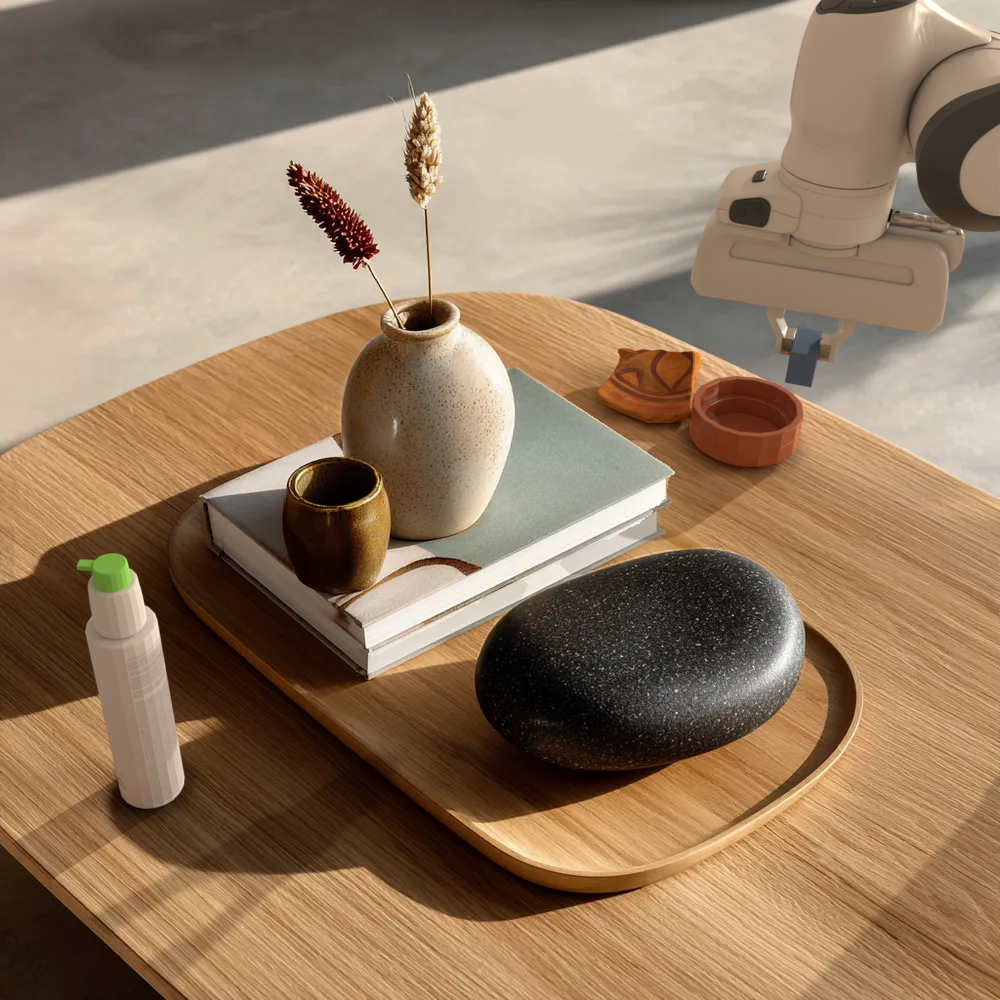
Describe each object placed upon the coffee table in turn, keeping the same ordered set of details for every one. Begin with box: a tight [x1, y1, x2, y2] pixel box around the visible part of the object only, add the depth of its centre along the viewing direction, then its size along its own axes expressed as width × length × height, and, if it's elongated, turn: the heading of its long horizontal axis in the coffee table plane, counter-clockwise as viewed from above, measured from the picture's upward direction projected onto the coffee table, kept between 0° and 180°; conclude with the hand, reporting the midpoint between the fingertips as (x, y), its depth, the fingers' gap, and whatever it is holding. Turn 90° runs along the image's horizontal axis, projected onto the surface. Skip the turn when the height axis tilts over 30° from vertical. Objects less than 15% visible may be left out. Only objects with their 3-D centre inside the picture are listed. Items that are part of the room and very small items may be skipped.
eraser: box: [784, 326, 824, 388], centre depth 112 cm, size 4×2×3 cm, turn 162°
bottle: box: [76, 552, 185, 810], centre depth 86 cm, size 4×4×20 cm
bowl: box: [688, 375, 805, 468], centre depth 126 cm, size 10×10×4 cm
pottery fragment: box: [593, 347, 703, 424], centre depth 132 cm, size 10×5×10 cm
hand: (804, 354), depth 112 cm, fingers closed on eraser, 2 cm apart
